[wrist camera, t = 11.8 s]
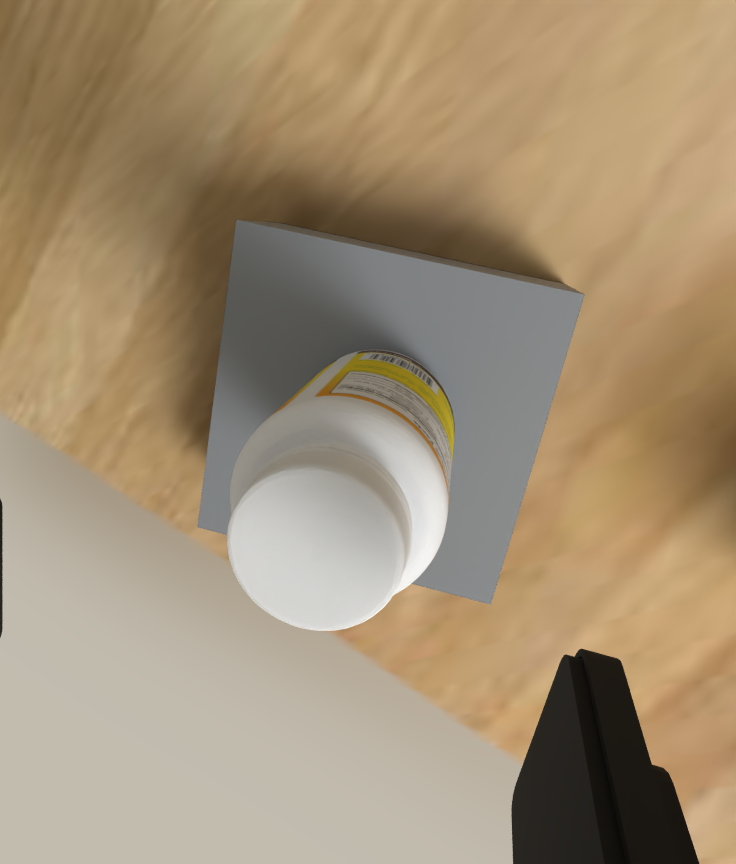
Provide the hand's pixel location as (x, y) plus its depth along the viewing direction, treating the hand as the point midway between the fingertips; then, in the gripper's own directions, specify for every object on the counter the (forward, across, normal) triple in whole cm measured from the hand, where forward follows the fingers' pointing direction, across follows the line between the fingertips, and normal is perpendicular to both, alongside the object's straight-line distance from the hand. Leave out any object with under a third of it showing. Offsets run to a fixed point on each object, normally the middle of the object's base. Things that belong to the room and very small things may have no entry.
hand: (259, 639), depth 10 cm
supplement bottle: (+14, 0, +1) cm, 14 cm away
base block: (+19, +1, +1) cm, 19 cm away
